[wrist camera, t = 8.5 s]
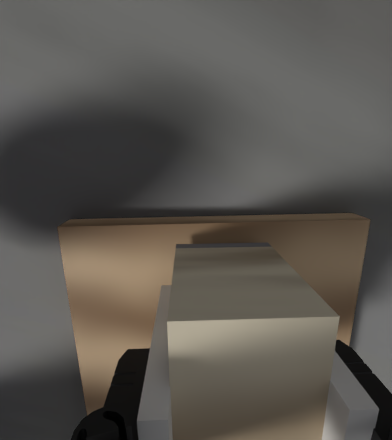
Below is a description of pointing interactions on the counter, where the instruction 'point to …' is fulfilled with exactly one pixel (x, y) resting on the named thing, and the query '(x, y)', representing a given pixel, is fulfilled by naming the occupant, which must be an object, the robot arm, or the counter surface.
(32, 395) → the counter surface
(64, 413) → the counter surface
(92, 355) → the board
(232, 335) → the block
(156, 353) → the robot arm
